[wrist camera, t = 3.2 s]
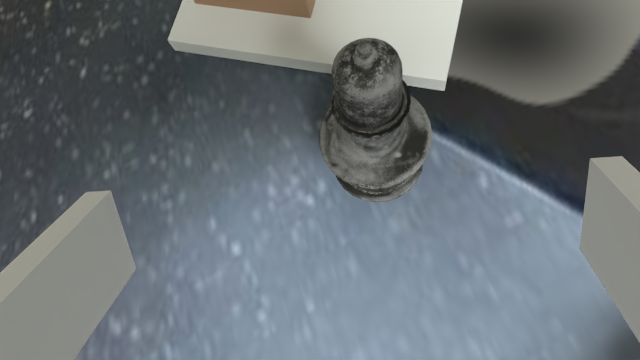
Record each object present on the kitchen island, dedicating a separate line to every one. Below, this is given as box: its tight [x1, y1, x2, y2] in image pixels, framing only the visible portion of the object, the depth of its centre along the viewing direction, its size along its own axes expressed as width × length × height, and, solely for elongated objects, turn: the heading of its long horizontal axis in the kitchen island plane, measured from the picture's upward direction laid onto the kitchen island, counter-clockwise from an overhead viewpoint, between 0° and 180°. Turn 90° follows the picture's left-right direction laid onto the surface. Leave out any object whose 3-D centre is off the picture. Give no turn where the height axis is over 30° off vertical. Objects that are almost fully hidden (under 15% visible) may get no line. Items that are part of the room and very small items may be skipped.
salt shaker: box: [319, 38, 432, 202], centre depth 25 cm, size 6×6×12 cm
